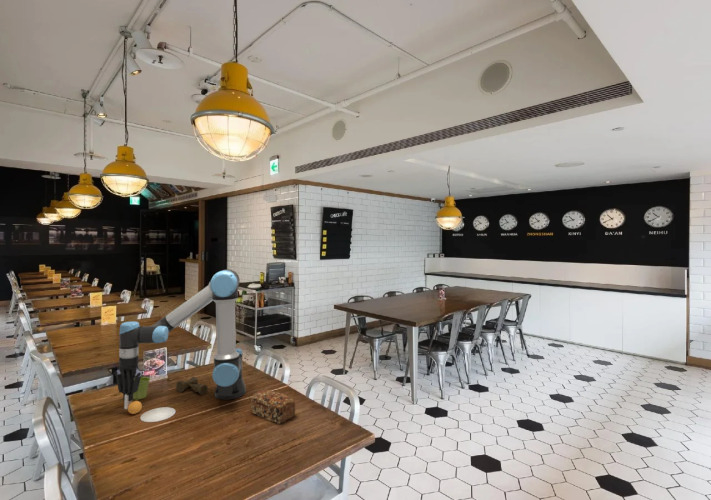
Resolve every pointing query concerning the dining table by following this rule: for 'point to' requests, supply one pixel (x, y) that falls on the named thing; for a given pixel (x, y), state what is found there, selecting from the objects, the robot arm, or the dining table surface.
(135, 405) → the ball
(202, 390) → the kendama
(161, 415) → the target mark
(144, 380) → the plant pot
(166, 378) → the dining table surface
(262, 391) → the bread
